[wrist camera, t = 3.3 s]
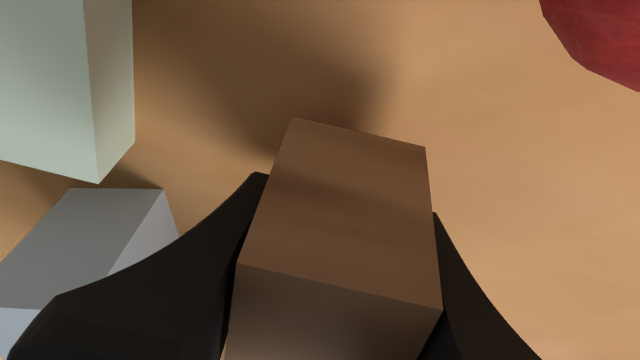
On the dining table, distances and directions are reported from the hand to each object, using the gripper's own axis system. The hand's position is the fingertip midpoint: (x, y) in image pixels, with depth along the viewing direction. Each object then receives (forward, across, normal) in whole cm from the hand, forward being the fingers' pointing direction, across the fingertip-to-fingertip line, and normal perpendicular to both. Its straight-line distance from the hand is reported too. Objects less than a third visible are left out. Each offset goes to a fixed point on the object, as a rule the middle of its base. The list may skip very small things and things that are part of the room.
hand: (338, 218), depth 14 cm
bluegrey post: (+3, +8, +6) cm, 11 cm away
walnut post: (+2, 0, 0) cm, 2 cm away
